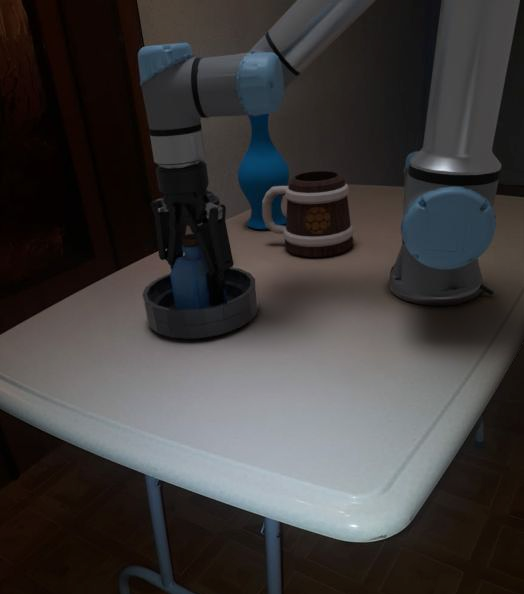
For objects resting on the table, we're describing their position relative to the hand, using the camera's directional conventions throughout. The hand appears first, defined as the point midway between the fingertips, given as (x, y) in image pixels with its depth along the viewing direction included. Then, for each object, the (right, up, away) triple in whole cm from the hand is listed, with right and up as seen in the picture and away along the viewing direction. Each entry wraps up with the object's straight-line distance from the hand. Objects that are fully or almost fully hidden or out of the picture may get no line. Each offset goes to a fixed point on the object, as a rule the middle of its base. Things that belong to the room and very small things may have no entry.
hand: (201, 303), depth 94 cm
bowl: (0, -2, +1) cm, 2 cm away
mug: (+20, +15, +28) cm, 37 cm away
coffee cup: (-2, +10, +23) cm, 25 cm away
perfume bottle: (0, -1, 0) cm, 1 cm away
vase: (+11, +23, +44) cm, 51 cm away
